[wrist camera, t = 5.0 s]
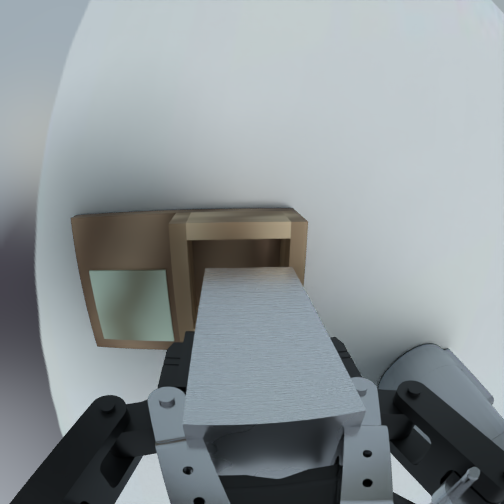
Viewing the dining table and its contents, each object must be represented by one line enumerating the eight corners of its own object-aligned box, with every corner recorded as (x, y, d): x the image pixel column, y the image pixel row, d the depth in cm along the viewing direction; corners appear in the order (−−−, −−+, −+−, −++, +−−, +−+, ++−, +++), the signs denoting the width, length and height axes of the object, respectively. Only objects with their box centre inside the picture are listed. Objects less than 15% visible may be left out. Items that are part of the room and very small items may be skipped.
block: (292, 266, 16) (366, 410, 7) (286, 338, 17) (332, 487, 8) (205, 268, 16) (182, 424, 6) (209, 340, 17) (201, 498, 8)
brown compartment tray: (292, 208, 21) (307, 221, 18) (284, 339, 25) (294, 369, 21) (76, 215, 20) (51, 229, 16) (100, 339, 24) (86, 368, 20)
